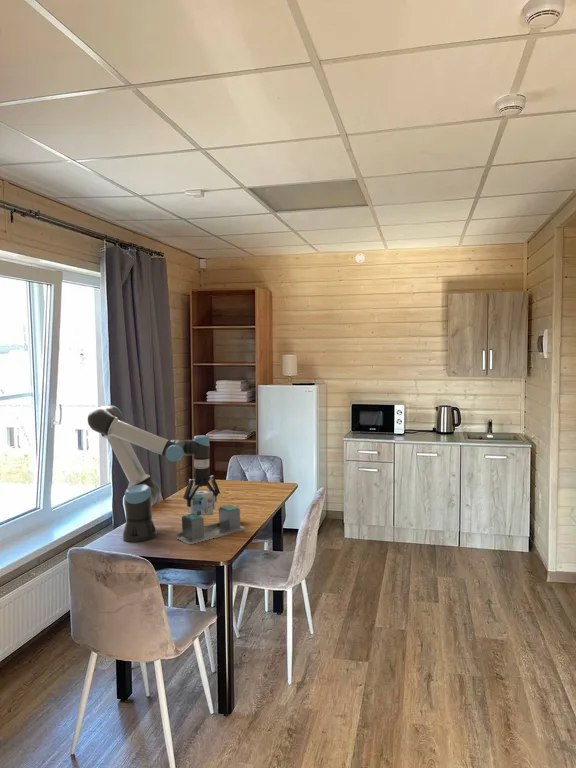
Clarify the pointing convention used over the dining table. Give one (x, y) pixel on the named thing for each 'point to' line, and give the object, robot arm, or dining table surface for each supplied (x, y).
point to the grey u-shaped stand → (210, 526)
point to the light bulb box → (203, 503)
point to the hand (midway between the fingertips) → (202, 510)
